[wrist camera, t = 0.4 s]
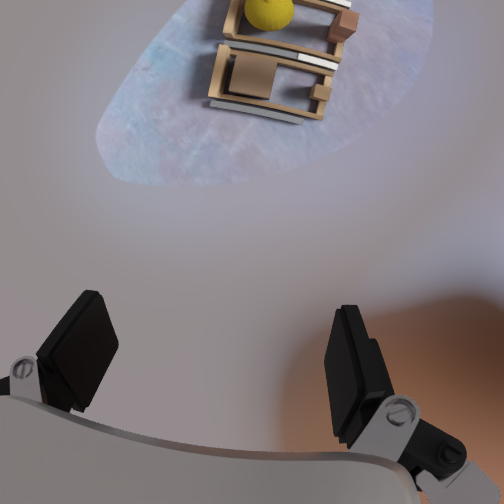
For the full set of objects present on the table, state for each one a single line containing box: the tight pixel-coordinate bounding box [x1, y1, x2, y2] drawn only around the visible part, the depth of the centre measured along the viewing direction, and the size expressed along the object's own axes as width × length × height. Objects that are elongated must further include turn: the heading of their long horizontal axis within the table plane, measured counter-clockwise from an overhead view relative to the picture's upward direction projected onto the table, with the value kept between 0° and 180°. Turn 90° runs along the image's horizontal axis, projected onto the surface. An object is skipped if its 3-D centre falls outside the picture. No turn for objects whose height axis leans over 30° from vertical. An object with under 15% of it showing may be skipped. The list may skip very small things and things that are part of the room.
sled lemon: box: [223, 0, 359, 64], centre depth 24 cm, size 8×14×8 cm, turn 78°
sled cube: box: [208, 44, 334, 121], centre depth 29 cm, size 6×14×4 cm, turn 78°
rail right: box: [210, 100, 304, 125], centre depth 32 cm, size 1×11×2 cm, turn 78°
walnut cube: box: [229, 54, 277, 100], centre depth 29 cm, size 4×4×4 cm
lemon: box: [244, 0, 294, 31], centre depth 24 cm, size 6×6×8 cm
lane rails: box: [224, 0, 351, 72], centre depth 26 cm, size 10×14×2 cm
